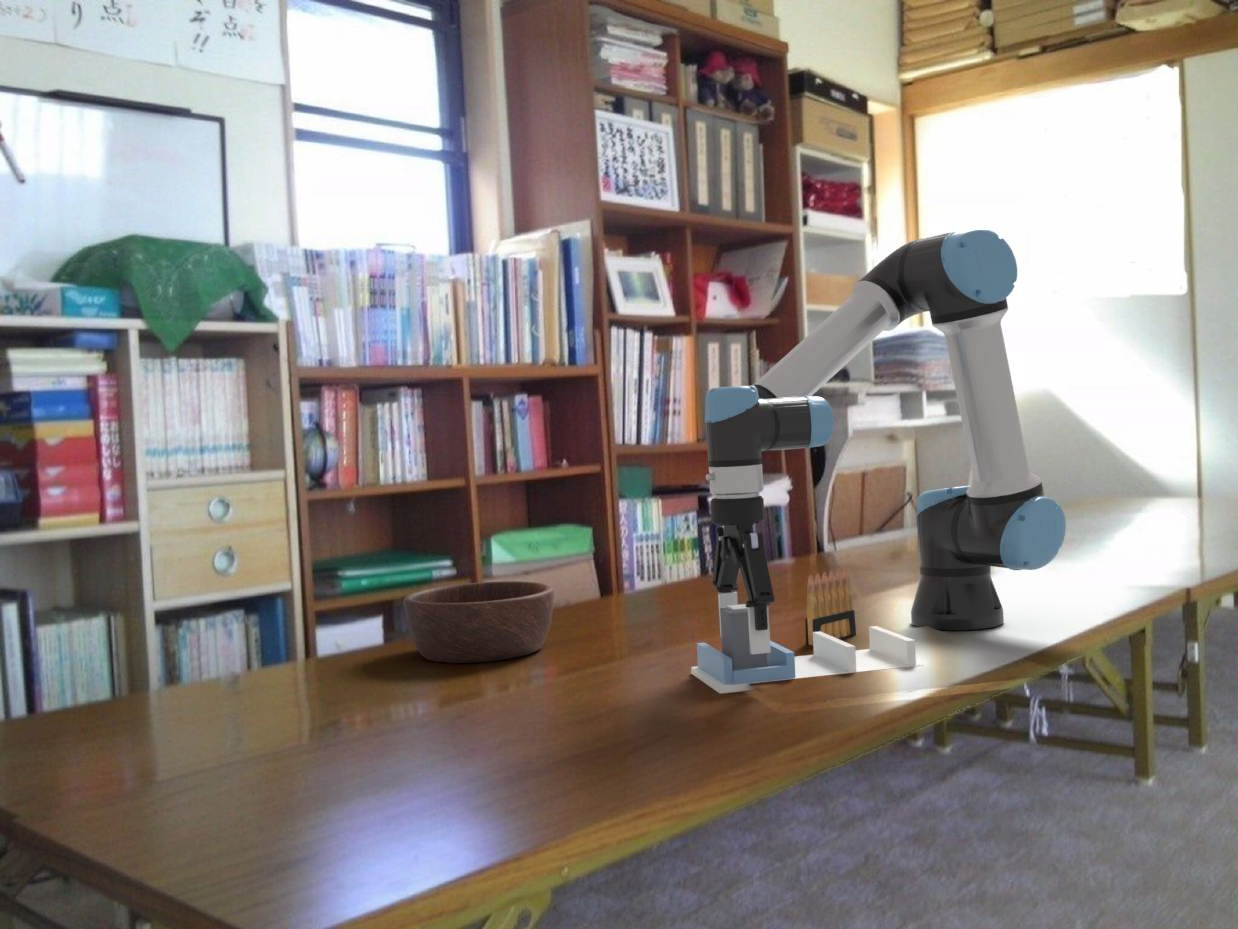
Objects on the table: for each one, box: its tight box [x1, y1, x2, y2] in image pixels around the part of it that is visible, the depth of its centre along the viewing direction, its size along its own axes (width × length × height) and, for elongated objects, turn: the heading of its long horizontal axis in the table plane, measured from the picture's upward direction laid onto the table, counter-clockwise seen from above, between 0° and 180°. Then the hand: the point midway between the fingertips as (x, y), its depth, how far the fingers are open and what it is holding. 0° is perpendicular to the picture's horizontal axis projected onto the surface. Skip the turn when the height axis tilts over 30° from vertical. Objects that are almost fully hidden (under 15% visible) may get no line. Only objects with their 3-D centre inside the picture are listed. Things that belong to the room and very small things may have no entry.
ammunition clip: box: [804, 567, 857, 646], centre depth 198 cm, size 11×2×12 cm, turn 132°
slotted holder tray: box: [690, 625, 923, 694], centre depth 180 cm, size 30×14×4 cm, turn 103°
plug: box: [720, 603, 768, 670], centre depth 177 cm, size 5×5×9 cm
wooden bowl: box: [403, 580, 555, 664], centre depth 209 cm, size 25×25×10 cm
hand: (744, 644), depth 178 cm, fingers open, 13 cm apart
